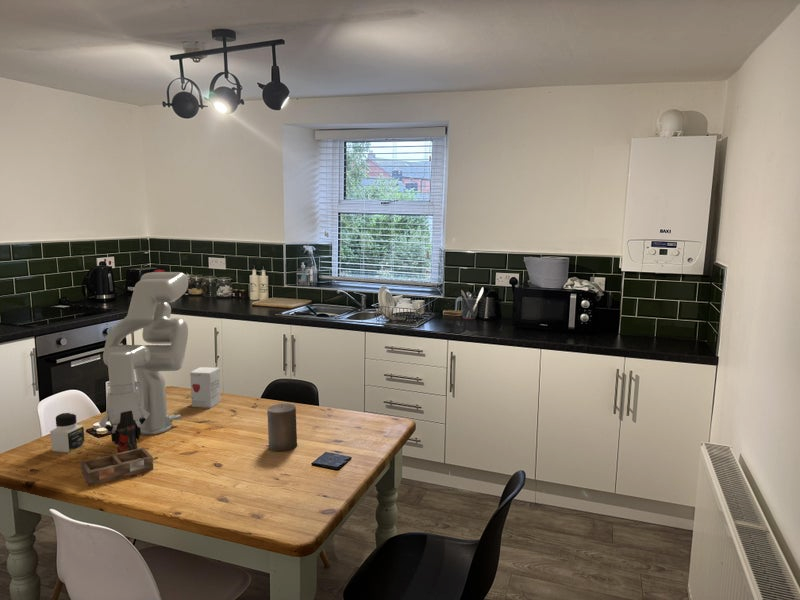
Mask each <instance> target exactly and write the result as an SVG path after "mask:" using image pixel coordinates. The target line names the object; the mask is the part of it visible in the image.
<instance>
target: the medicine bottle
mask: <svg viewBox="0 0 800 600" xmlns="http://www.w3.org/2000/svg"><path fill="white" fill-rule="evenodd" d="M77 421H78V419H77V414H76V413H74V412H70V411H69V412H63V413H59V414H57V415H56V416H55V427H56V428H54V429H51V430H50V432H49V433H50V443H51V444H50V445H51V451H52V452H60V453H72V452H74V451H75V450H77V449H79V448H81V447H84V446H85V445H86V442H85V441H86V440H85V432H84V431H85V430H84V425H82V424H78V422H77Z"/></svg>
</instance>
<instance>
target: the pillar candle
mask: <svg viewBox="0 0 800 600" xmlns="http://www.w3.org/2000/svg"><path fill="white" fill-rule="evenodd" d="M266 411H267V436H268V449H269V450H271V451H275V452H283V451H285V452H286V451H291V450H294V449H296V448H297V447H298V436H297V435H298V434H297V433H298V432H297V408H296V405H294V404H292V403H277V404H272V405H270V406H268V407H267V409H266Z"/></svg>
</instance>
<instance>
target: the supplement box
mask: <svg viewBox="0 0 800 600" xmlns="http://www.w3.org/2000/svg"><path fill="white" fill-rule="evenodd" d="M220 374H221V373H220V367H210V366H209V367H206V366H205V367H204V366H200V367H198V368H196V369H194V370H192V371H190V373H189V376H190V396H191V397H190V398H191V407H192V408H205V409H207V408H209V409H212V408H213V407H215V406H217V404H220V402H221V400H222V399H221V376H220Z"/></svg>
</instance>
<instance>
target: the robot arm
mask: <svg viewBox="0 0 800 600" xmlns="http://www.w3.org/2000/svg"><path fill="white" fill-rule="evenodd" d="M188 288H189V279H188V276H187V275H186V274H185V273H184V272H180V271H152V272H146V273H144V274H142V275H141V276H140V280H139V281H138V282H136V283H135V285H134V288H133V293H132V295H131V300H130V304H129V307H128V312H127V315H126V316H125V317H124V318H123V319H122V320H121V321H119V322H118V323H117V324H116V325H115V326H114V327H113V328H112V329H111V331H110V332H109V333H108V335H107V338H106V339H105V344H104V347H103V348H104V349H103V354H102V359H103V363H104V364H105V365H106V366H107V368H108V370H107V371H108V379H109V380H108V381H109V392H107V395H106V401H105V402H106V407H105V408H106V410H105V411H106V412H105V413H106V414H105V415H104V416H103V418H102V419H101V420H100V421H99V423H98V425H99V426H101V428H104V429H105V430H107V431H109V432H110V433H111V434H110V435H111V442H112V443H114V444H115V445H117V444H118V433H117V432H116V429H117V426H118V424H119V423H120V414H121V413H123V412H128V411H132V414H133V419H134V420H135V426H136V440H140V436H141V435H146V436H147V435H149V436H150V435H156V434H157V435H158V434H162V433H165V432H167V431H169V430H171V429H172V428H173V421H179V420H181V419H182V416H181V414H174V413H173V414H170V415H169V414H168V409H167V407H168V406H167V390H166V381H165V378H164V376H163V375H162V374H161V372H175V371H176V372H177V371H179V370H181V369H182V367H183V365H184V360H185V356H186V350H187V343H188V338H189V328H188V323H187V322H186V321H185V320H184V319H182V318H178V317H177V318H172V317H171V313H172V308H171V305H170V303H173V302H176V301H177V300H179V298H181V297H182V296H183V295H185V294H186V292H187V290H188ZM139 330H142V340H143V341H144V342H146V343H147V344H146V345H143V344H121V342H122V341H123V339H125V338H126V337H127V336H128V335H130V334H132V333H135V332H136V331H139ZM135 377H136V378H135ZM107 422H109V424H110V425H109V424H107Z"/></svg>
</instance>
